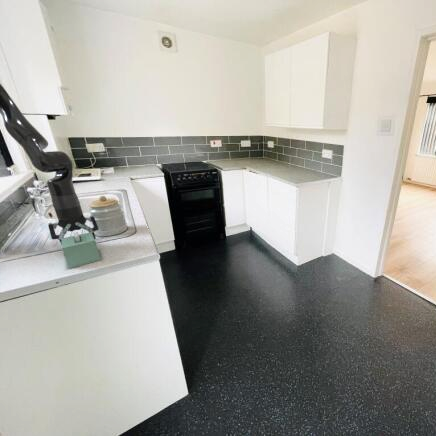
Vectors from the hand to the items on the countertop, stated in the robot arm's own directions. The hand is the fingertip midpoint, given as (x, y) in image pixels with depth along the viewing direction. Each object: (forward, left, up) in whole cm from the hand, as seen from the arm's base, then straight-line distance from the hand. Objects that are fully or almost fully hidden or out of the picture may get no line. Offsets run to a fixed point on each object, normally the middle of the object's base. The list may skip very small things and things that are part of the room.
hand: (79, 243), depth 99 cm
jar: (+12, +14, -3) cm, 19 cm away
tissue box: (0, -11, -3) cm, 11 cm away
